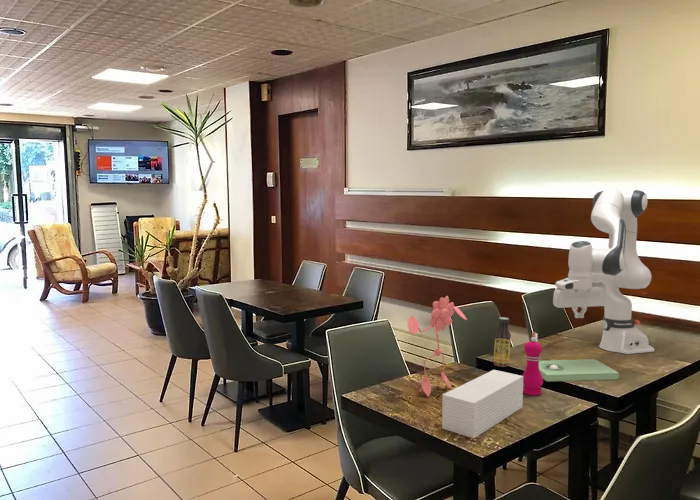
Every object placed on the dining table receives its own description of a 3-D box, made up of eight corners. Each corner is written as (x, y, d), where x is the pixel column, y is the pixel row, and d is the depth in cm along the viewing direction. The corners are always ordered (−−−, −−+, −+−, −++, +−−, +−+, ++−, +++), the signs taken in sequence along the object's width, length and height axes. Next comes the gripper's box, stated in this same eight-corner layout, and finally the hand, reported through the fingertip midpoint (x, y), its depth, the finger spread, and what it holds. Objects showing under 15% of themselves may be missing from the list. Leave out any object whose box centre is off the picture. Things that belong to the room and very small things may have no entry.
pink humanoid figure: (400, 396, 196) (402, 297, 192) (450, 381, 212) (453, 289, 208) (432, 410, 184) (435, 305, 180) (483, 393, 200) (486, 296, 196)
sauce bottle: (492, 366, 229) (493, 319, 227) (494, 362, 235) (495, 315, 233) (509, 368, 227) (510, 320, 225) (510, 364, 233) (511, 317, 231)
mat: (593, 363, 232) (594, 329, 231) (618, 379, 213) (620, 341, 211) (526, 365, 230) (527, 331, 229) (546, 381, 211) (547, 343, 210)
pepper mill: (544, 396, 195) (545, 340, 193) (522, 395, 197) (523, 339, 195) (541, 389, 202) (542, 335, 200) (520, 388, 204) (521, 334, 202)
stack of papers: (493, 400, 193) (493, 369, 192) (522, 407, 186) (523, 376, 185) (442, 429, 170) (442, 394, 168) (473, 439, 162) (474, 403, 161)
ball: (553, 363, 223) (546, 366, 222) (558, 363, 219) (550, 366, 218) (556, 372, 222) (549, 375, 221) (561, 371, 219) (554, 374, 218)
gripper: (601, 280, 224) (600, 315, 225) (551, 282, 222) (550, 316, 224) (609, 283, 218) (608, 318, 219) (558, 285, 216) (557, 320, 218)
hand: (579, 317), depth 222 cm, fingers closed
